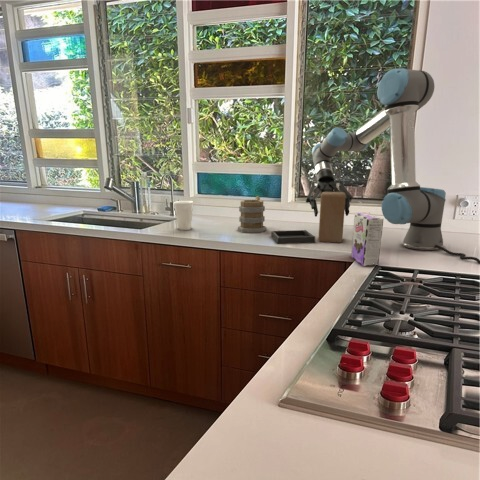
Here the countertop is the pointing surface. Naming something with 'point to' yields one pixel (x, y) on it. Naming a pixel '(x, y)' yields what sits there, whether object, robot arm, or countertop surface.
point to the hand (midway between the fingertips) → (332, 214)
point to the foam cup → (184, 214)
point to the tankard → (252, 216)
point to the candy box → (367, 238)
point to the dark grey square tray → (292, 236)
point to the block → (331, 216)
